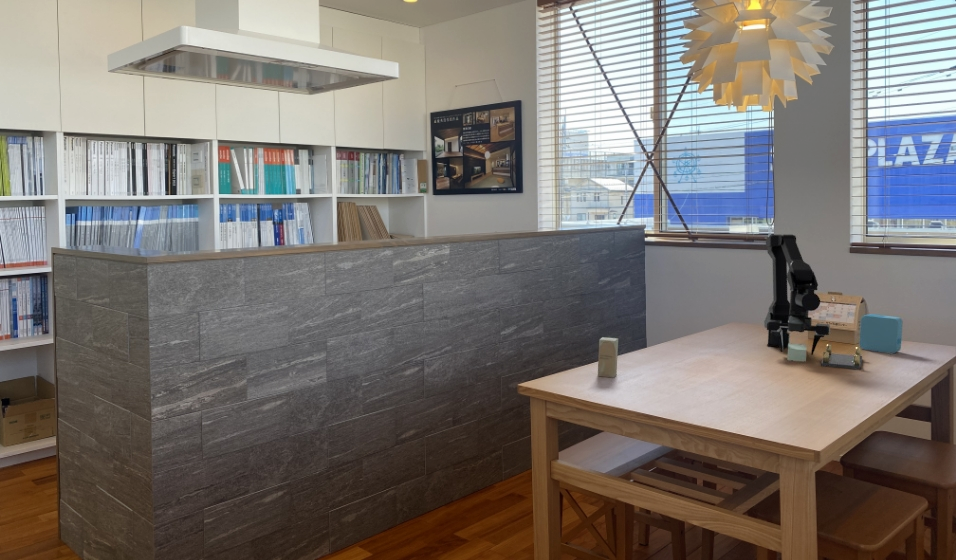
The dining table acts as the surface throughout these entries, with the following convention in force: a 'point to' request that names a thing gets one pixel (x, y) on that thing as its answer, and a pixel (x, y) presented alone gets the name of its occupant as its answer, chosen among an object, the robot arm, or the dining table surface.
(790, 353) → the pale green block
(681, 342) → the dining table surface
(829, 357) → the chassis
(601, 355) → the box
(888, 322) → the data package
